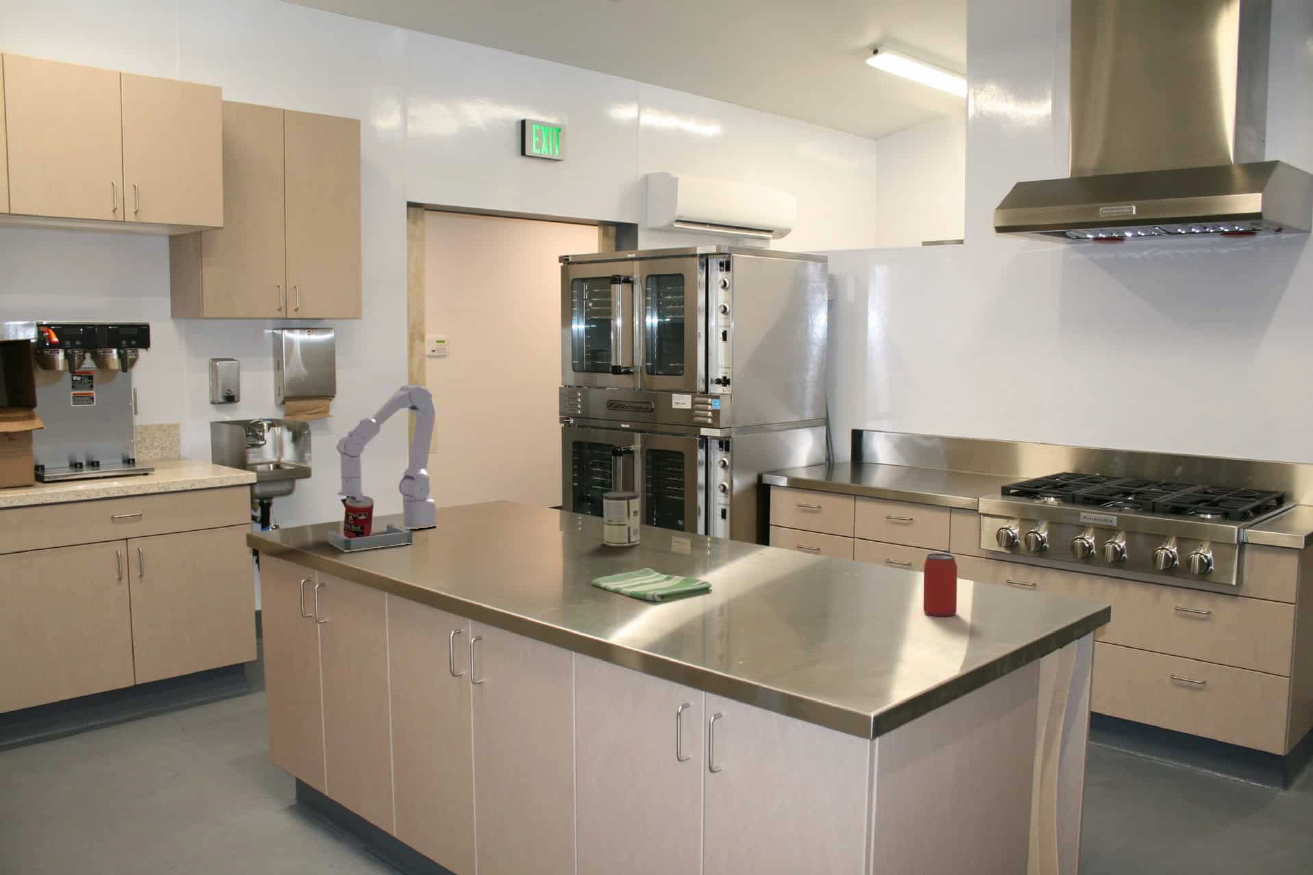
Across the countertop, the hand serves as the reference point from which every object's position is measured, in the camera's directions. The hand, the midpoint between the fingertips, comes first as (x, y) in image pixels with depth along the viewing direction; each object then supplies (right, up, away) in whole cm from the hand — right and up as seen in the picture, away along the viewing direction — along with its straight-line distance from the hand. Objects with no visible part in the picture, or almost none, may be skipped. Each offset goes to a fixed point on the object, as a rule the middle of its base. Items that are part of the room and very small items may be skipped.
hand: (353, 522), depth 300 cm
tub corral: (+8, -5, -11) cm, 15 cm away
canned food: (+2, -4, -3) cm, 5 cm away
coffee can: (+80, -5, -14) cm, 82 cm away
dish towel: (+89, -10, -67) cm, 112 cm away
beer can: (+149, -11, -92) cm, 175 cm away
